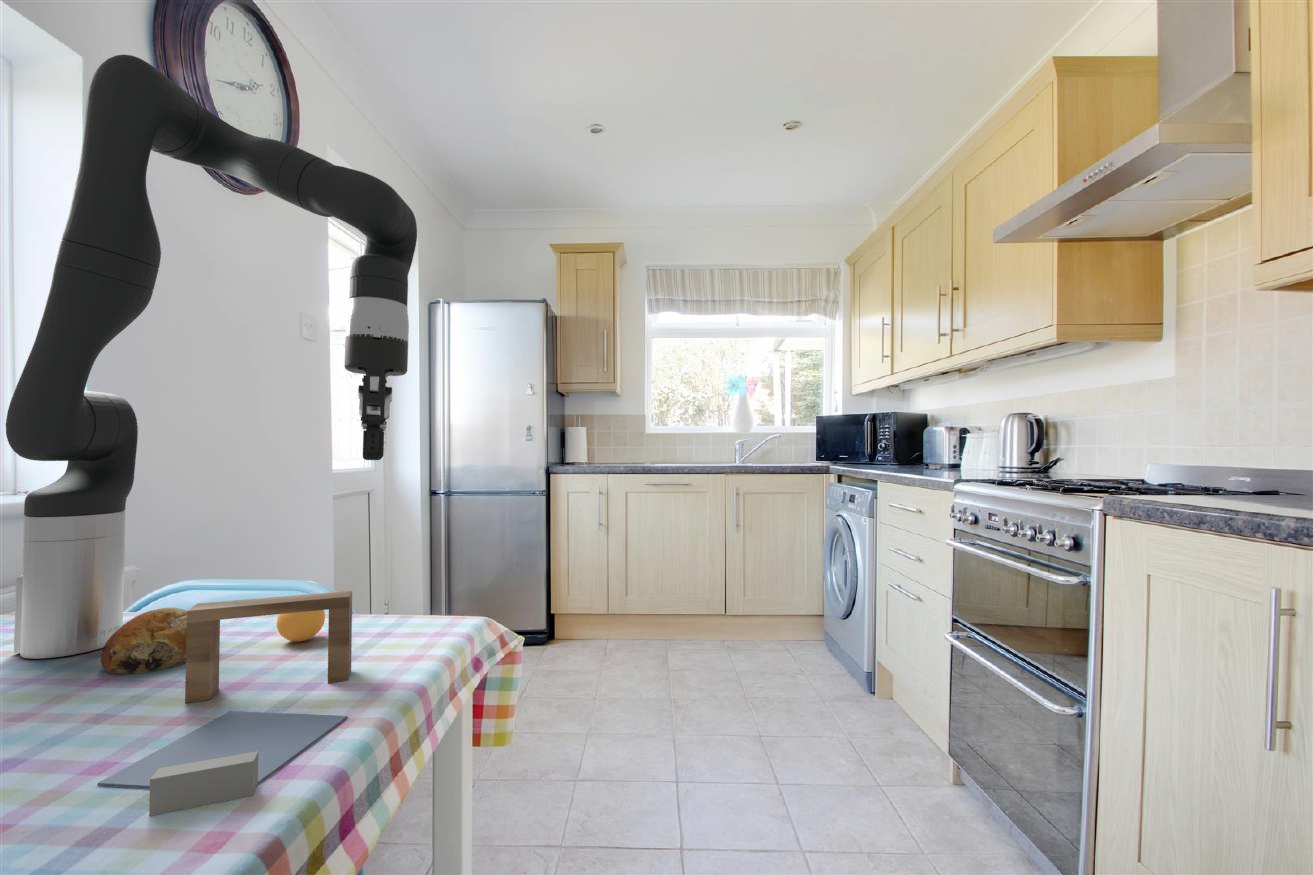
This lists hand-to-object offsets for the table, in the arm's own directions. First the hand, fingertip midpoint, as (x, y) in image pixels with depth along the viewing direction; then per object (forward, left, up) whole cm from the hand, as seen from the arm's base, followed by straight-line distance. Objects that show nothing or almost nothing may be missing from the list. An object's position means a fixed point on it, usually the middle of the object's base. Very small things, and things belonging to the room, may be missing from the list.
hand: (373, 459), depth 75 cm
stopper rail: (+8, -33, -24) cm, 42 cm away
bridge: (-3, -14, -24) cm, 28 cm away
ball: (-10, +1, -22) cm, 24 cm away
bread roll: (-23, -8, -25) cm, 34 cm away
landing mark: (+4, -26, -24) cm, 36 cm away
